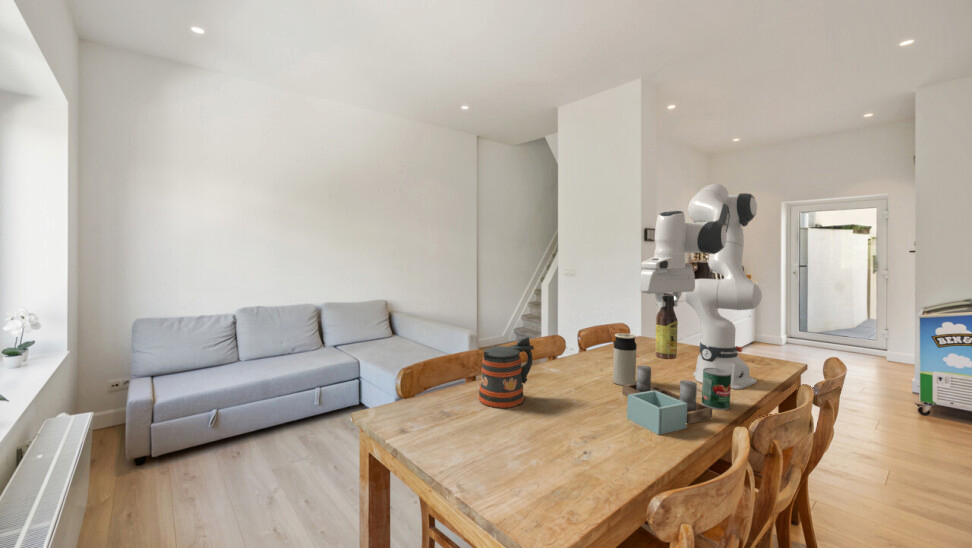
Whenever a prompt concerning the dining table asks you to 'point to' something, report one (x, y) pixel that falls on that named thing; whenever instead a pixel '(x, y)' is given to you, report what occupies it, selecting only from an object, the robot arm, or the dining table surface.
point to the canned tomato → (716, 388)
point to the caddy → (657, 411)
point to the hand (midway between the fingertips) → (667, 306)
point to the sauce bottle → (666, 330)
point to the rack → (671, 394)
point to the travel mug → (624, 359)
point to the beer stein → (504, 375)
